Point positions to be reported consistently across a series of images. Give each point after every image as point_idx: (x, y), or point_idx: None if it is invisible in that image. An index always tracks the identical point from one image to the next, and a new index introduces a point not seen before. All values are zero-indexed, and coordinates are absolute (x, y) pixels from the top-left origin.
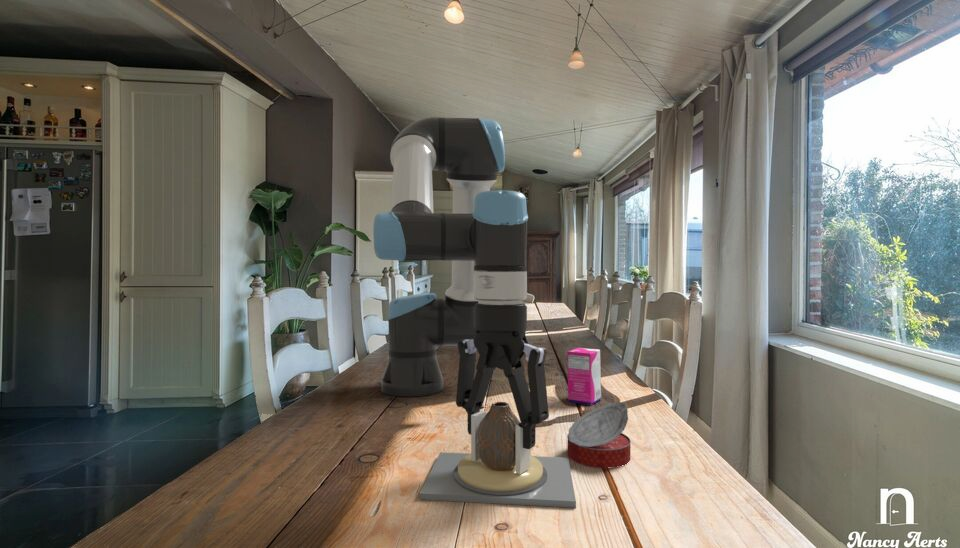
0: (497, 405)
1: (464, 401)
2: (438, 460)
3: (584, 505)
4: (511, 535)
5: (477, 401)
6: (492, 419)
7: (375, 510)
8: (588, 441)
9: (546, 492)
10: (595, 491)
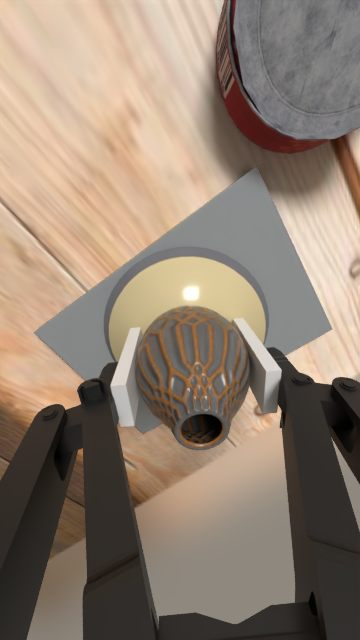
0: (175, 408)
1: (74, 448)
2: (66, 358)
3: (335, 310)
4: (279, 414)
5: (120, 446)
6: (201, 433)
7: (128, 463)
8: (325, 108)
9: (283, 334)
10: (340, 257)
